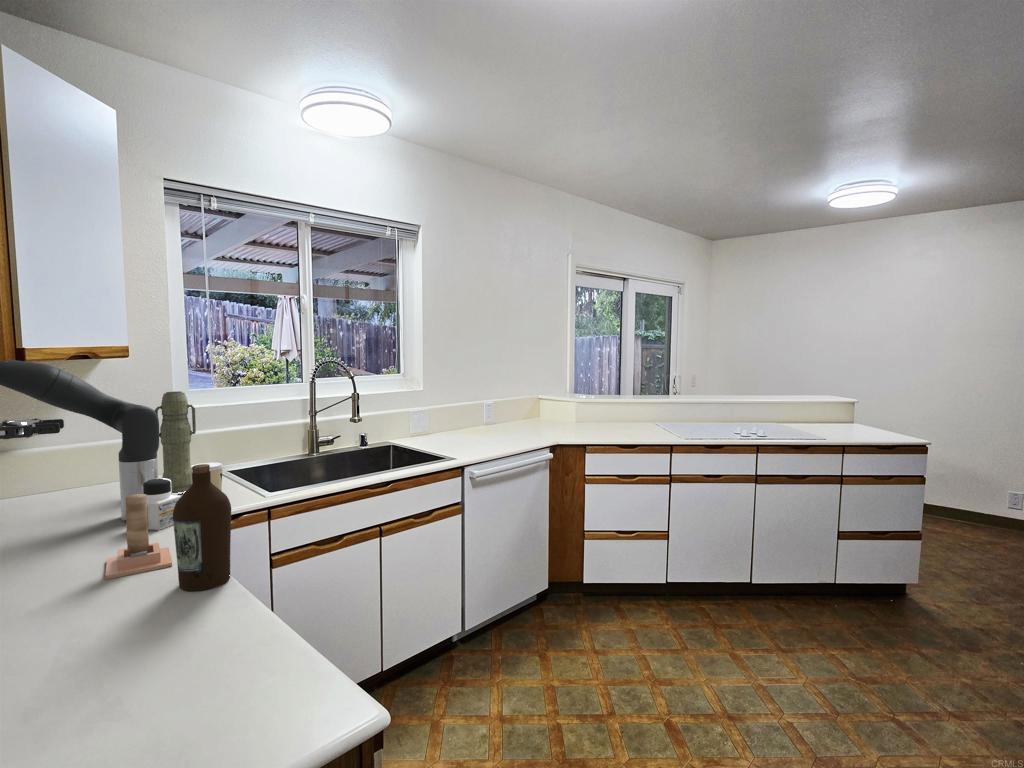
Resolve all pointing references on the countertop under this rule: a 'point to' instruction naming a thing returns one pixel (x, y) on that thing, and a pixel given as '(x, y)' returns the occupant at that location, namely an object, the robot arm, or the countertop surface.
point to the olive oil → (202, 533)
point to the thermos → (176, 439)
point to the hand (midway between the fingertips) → (61, 425)
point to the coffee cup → (213, 473)
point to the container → (159, 503)
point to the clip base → (138, 561)
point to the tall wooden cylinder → (137, 523)
